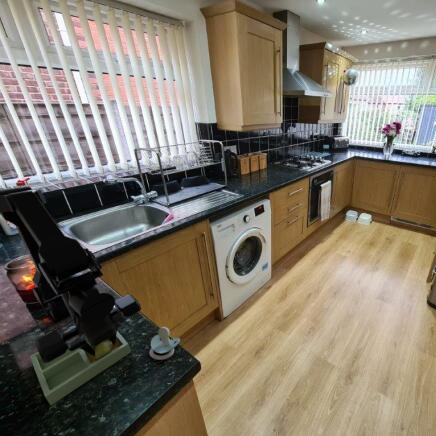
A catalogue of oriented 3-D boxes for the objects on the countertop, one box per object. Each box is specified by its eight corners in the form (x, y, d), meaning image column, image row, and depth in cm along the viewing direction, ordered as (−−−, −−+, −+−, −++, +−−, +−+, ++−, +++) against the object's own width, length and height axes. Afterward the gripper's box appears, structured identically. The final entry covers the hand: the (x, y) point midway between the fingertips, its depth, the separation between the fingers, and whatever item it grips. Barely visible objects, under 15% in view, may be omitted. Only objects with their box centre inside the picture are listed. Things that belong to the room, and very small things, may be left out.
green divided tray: (34, 364, 59) (29, 356, 58) (108, 324, 70) (104, 316, 69) (50, 405, 50) (45, 396, 49) (131, 352, 62) (128, 343, 60)
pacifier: (168, 364, 59) (184, 342, 64) (162, 346, 56) (179, 325, 61) (143, 357, 60) (161, 337, 66) (136, 339, 58) (155, 320, 63)
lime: (99, 366, 57) (91, 352, 55) (90, 357, 60) (81, 343, 58) (119, 351, 61) (112, 337, 59) (110, 342, 63) (102, 329, 61)
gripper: (32, 348, 43) (65, 403, 49) (143, 291, 57) (158, 340, 63) (21, 319, 49) (51, 371, 55) (123, 274, 63) (138, 320, 69)
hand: (104, 349), depth 60 cm, fingers closed on lime, 4 cm apart
